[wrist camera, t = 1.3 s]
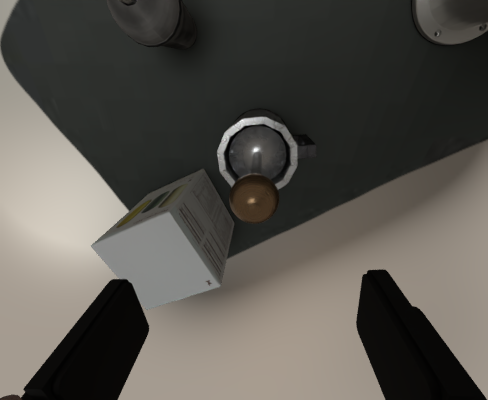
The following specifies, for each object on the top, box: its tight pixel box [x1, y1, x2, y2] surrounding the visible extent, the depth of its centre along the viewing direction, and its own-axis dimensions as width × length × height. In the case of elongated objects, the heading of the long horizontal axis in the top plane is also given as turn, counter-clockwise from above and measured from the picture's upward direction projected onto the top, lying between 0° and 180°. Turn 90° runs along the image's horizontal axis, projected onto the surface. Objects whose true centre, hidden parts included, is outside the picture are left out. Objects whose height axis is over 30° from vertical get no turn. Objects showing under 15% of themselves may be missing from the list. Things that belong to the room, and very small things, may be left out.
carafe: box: [217, 109, 316, 189], centre depth 35 cm, size 13×10×12 cm
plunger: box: [229, 125, 286, 224], centre depth 24 cm, size 8×8×16 cm
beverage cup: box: [107, 0, 197, 49], centre depth 25 cm, size 7×7×20 cm
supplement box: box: [91, 169, 234, 310], centre depth 39 cm, size 13×13×18 cm
